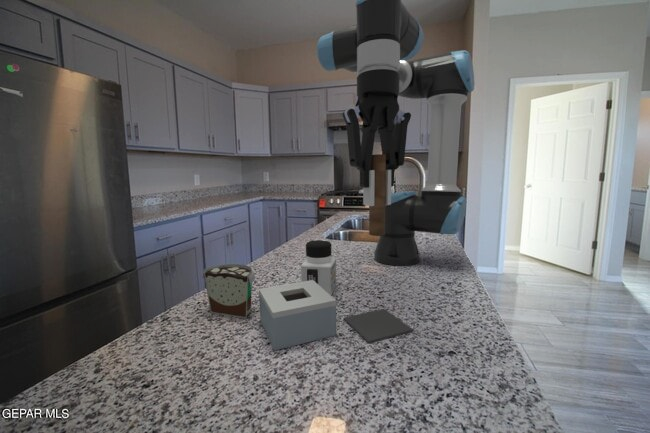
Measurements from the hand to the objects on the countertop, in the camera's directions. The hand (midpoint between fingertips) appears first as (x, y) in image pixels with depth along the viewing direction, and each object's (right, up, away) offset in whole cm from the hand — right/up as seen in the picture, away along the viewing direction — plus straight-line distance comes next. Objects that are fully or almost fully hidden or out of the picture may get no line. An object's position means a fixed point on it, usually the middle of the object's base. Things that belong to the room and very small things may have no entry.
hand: (377, 204), depth 59 cm
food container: (-30, -24, +12) cm, 40 cm away
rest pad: (+1, -24, +4) cm, 24 cm away
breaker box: (-16, -25, +3) cm, 29 cm away
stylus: (0, -6, +1) cm, 6 cm away
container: (-11, -22, +23) cm, 34 cm away
